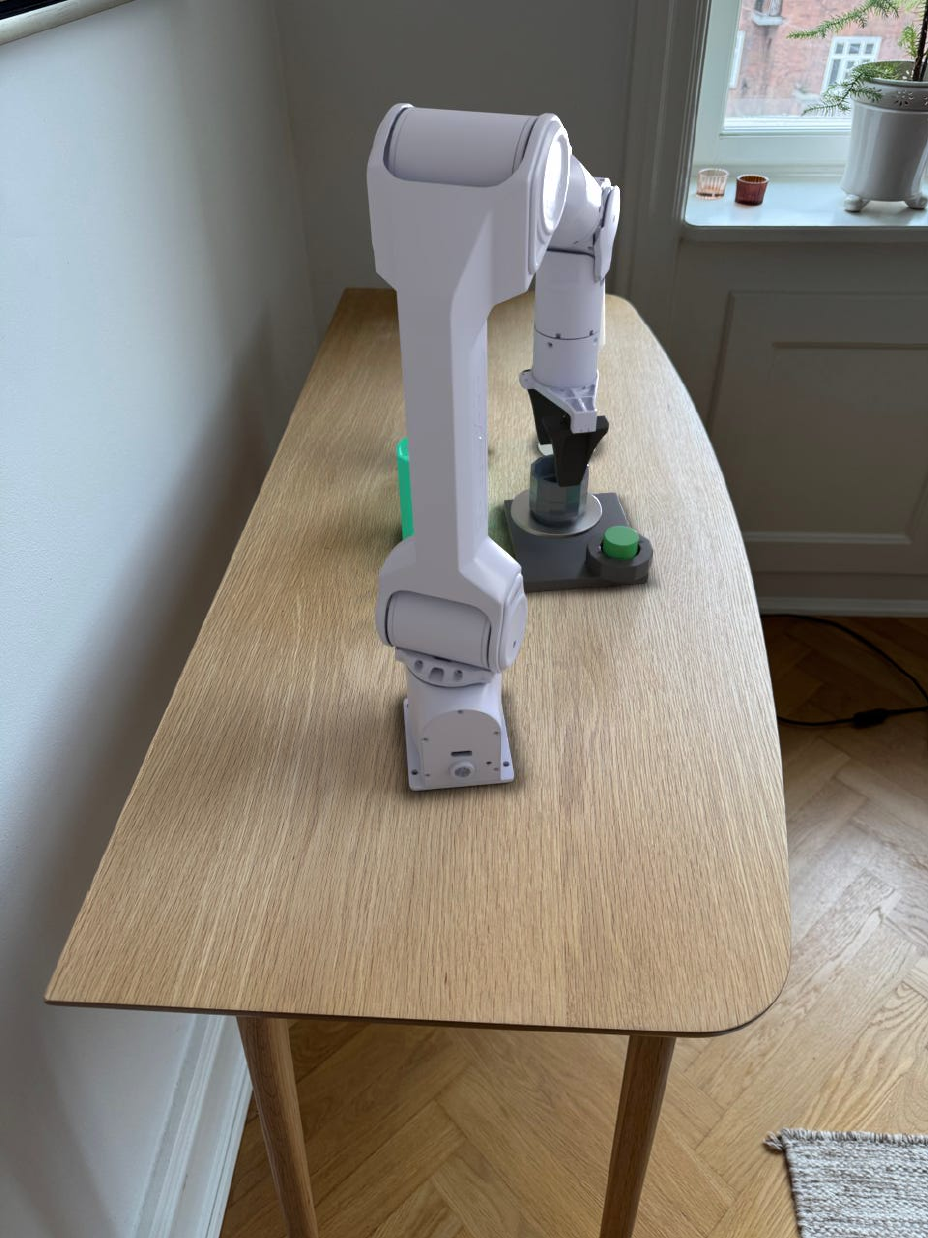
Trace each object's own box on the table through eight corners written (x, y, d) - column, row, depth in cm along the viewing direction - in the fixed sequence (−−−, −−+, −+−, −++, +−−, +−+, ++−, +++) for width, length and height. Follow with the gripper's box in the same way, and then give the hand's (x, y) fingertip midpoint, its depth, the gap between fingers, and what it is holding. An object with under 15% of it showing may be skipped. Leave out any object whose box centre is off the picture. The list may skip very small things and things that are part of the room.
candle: (454, 557, 90) (450, 451, 83) (395, 551, 91) (386, 445, 84) (466, 523, 95) (464, 419, 87) (410, 517, 96) (403, 414, 88)
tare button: (640, 559, 86) (642, 544, 85) (606, 561, 86) (608, 546, 84) (632, 539, 88) (634, 524, 87) (599, 541, 88) (601, 526, 87)
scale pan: (610, 535, 88) (610, 531, 88) (517, 542, 88) (518, 537, 87) (591, 484, 95) (591, 480, 95) (505, 490, 94) (505, 486, 94)
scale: (656, 589, 87) (660, 564, 85) (524, 599, 86) (525, 574, 84) (620, 501, 98) (622, 477, 96) (503, 509, 97) (504, 485, 95)
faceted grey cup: (585, 493, 93) (588, 454, 90) (585, 525, 89) (589, 486, 86) (530, 491, 93) (531, 452, 90) (527, 523, 89) (529, 483, 86)
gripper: (504, 297, 83) (502, 429, 92) (541, 367, 73) (535, 509, 82) (579, 290, 84) (570, 422, 93) (626, 359, 73) (611, 500, 82)
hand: (559, 462), depth 87 cm, fingers open, 7 cm apart
